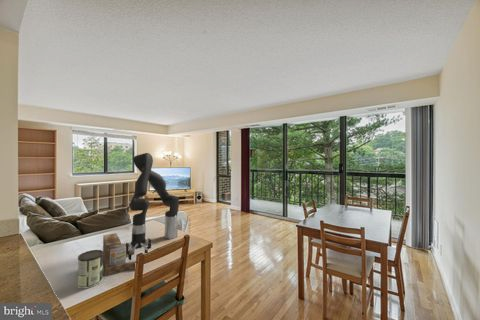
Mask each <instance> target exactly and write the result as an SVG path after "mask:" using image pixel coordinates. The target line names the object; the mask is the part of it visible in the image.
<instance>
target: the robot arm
mask: <svg viewBox="0 0 480 320" xmlns="http://www.w3.org/2000/svg"><path fill="white" fill-rule="evenodd" d="M132 160H133V161H132V162H133V164H134V166H135V167H136V168H137V170H139V172H140V174H139V176H138V178H137V179H136V182H135V188H134V194H133V196H132V198H131V201H130V203H129V209H130V211H132V212H135V211H141V212H139V213H136V214H134V215H133V216H132V227H131V242H125V245H126V254H128V257H127V258H128V261H132V256H133V255H132V254H131V253H132V252H133V251H134V249H135V250H138V249H142V248H143V249H144V254H145V253H148V250H149V249H150V250H151V248H152V242H151V241H152V239H150V238H147V239H146V231H147V227H146V217H147V212H148V208H149V205H150V202H149V199H147V198H142V197H145V196H146V195H147V194H148V187H149V186H148V183H150V184H149V185H151V186H152V188H153V190H154V191H155V192H156V194H157V195H158V196H159V198H160V200H161V201H162V203H163V205H165V207H168V208H169V210H167V211H165V213H164V214H165V215H164V239H167V240H171V239H176V238H177V237H178V231H179V229H178V228H179V225H178V213H179V208H180V207H179V206H180V199H179V197H178V196H177V195H173V194H170V193H169V192H168V191H167V184H166V180H164V177H162V176H161V175H160V174H159V173H157V172H155V171H153V170H152V167H153V163H154V159H153V155H152V154H151V153H149V152H144V153H141V154H137V155H134V156H133V159H132ZM146 243H147V246H146V245H145V244H146ZM129 247H130V249H129ZM128 250H129V251H128ZM134 252H135V251H134ZM148 254H149V253H148Z"/></svg>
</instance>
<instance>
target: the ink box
mask: <svg viewBox="0 0 480 320" xmlns="http://www.w3.org/2000/svg"><path fill="white" fill-rule="evenodd" d="M123 263H127V258H126V242H124V241H121V245H116V246H111V247H109V267H111V266H115V265H119V264H123Z"/></svg>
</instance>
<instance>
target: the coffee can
mask: <svg viewBox="0 0 480 320" xmlns="http://www.w3.org/2000/svg"><path fill="white" fill-rule="evenodd" d="M77 259H78V260H77V287H78V288H79V289H89V288H92V287H96V286H97V285H99V284H101V282H102V281H103V271H104V267H103V249H102V250H101V249H93V250H88V251H85V252H82V253H80V254H78V256H77Z"/></svg>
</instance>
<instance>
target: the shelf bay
mask: <svg viewBox="0 0 480 320" xmlns="http://www.w3.org/2000/svg"><path fill="white" fill-rule="evenodd" d="M102 238H103V239H102V240H103V241H102V251H103V271H104V274H105V276H109V275H113V274H118V273H121V272H125V271H129V270H136V269H135V263H136V262H137V261H129V262H128V261H127V262H126V263H123V264H119V265H115V266H111V267H109V247H111V246H116V245H121V242H122V241H121V239H120V237H119V236H118V233H117V232H115V233H110V234H109V233H108V234H104V235H103V237H102ZM129 250H130V249H128V251H129ZM135 251H136V249H134V251H133V252H132V253H131V254H132V256H133V255H135ZM127 258H128V254H126V259H127Z"/></svg>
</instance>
